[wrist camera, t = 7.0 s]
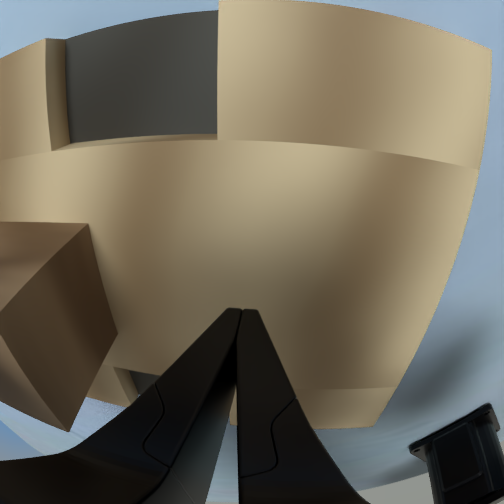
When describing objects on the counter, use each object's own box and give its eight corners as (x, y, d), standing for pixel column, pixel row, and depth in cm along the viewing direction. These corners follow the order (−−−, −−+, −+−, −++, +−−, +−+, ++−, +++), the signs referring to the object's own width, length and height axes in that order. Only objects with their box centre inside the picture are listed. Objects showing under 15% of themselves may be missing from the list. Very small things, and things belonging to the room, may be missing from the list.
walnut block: (88, 223, 8) (-8, 320, 5) (118, 333, 11) (69, 432, 7) (-1, 221, 9) (-82, 289, 5) (33, 315, 11) (-20, 389, 7)
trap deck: (469, 50, 6) (568, 52, 2) (369, 407, 14) (380, 478, 10) (-32, 84, 7) (-108, 108, 3) (53, 368, 15) (23, 421, 11)
